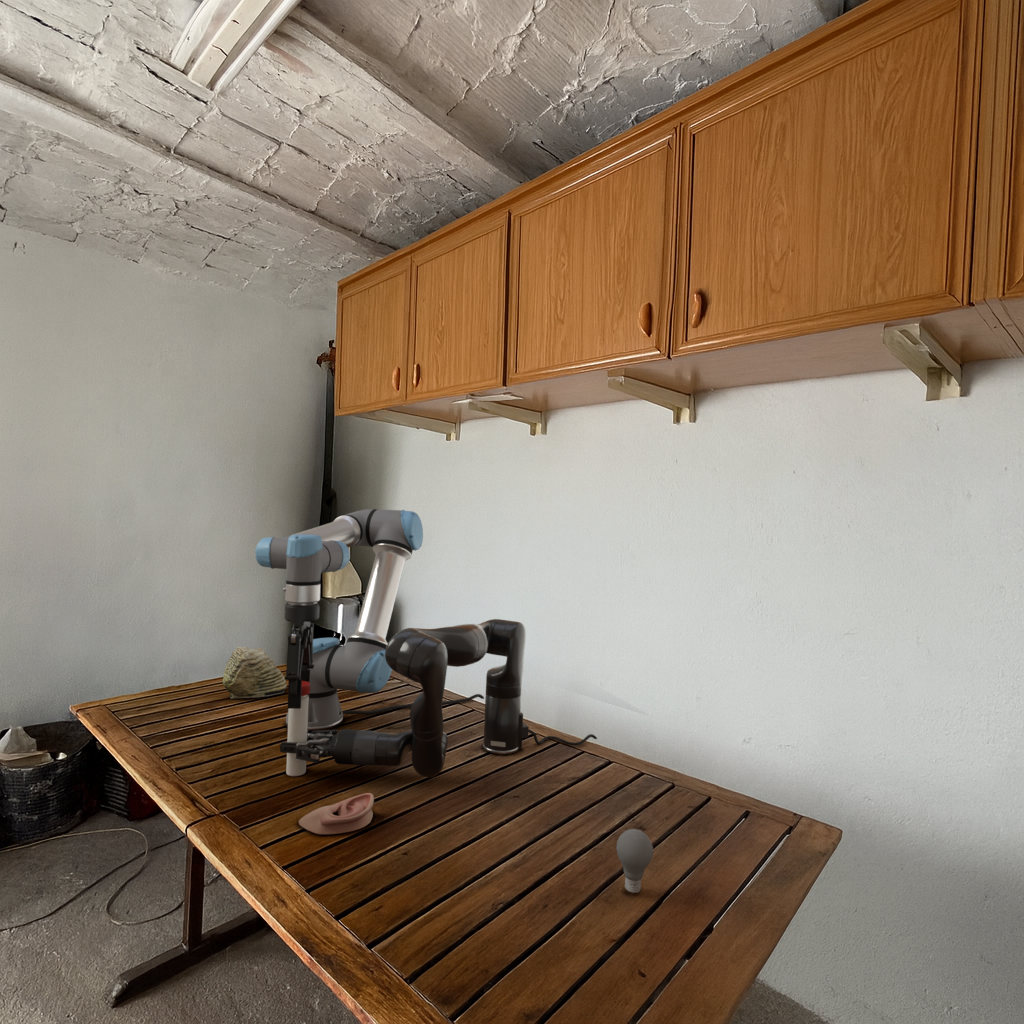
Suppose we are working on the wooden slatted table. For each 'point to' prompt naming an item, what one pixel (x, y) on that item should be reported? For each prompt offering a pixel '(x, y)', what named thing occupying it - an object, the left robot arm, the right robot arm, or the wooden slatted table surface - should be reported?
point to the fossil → (252, 674)
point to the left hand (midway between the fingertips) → (298, 702)
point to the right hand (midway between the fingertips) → (285, 742)
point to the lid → (305, 688)
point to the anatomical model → (340, 816)
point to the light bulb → (634, 857)
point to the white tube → (297, 736)
